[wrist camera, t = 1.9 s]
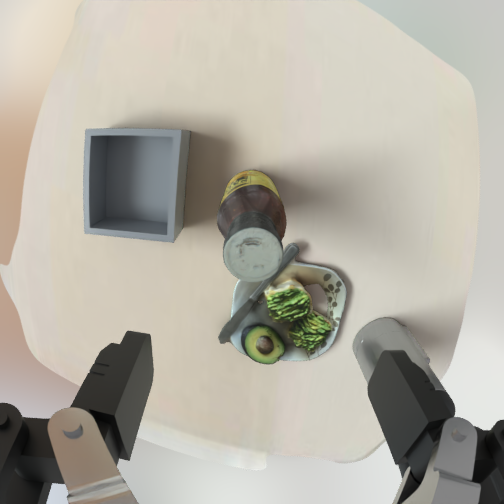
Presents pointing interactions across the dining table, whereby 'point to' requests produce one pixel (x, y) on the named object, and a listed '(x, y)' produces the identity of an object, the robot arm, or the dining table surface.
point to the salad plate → (285, 313)
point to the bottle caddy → (135, 182)
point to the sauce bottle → (252, 226)
